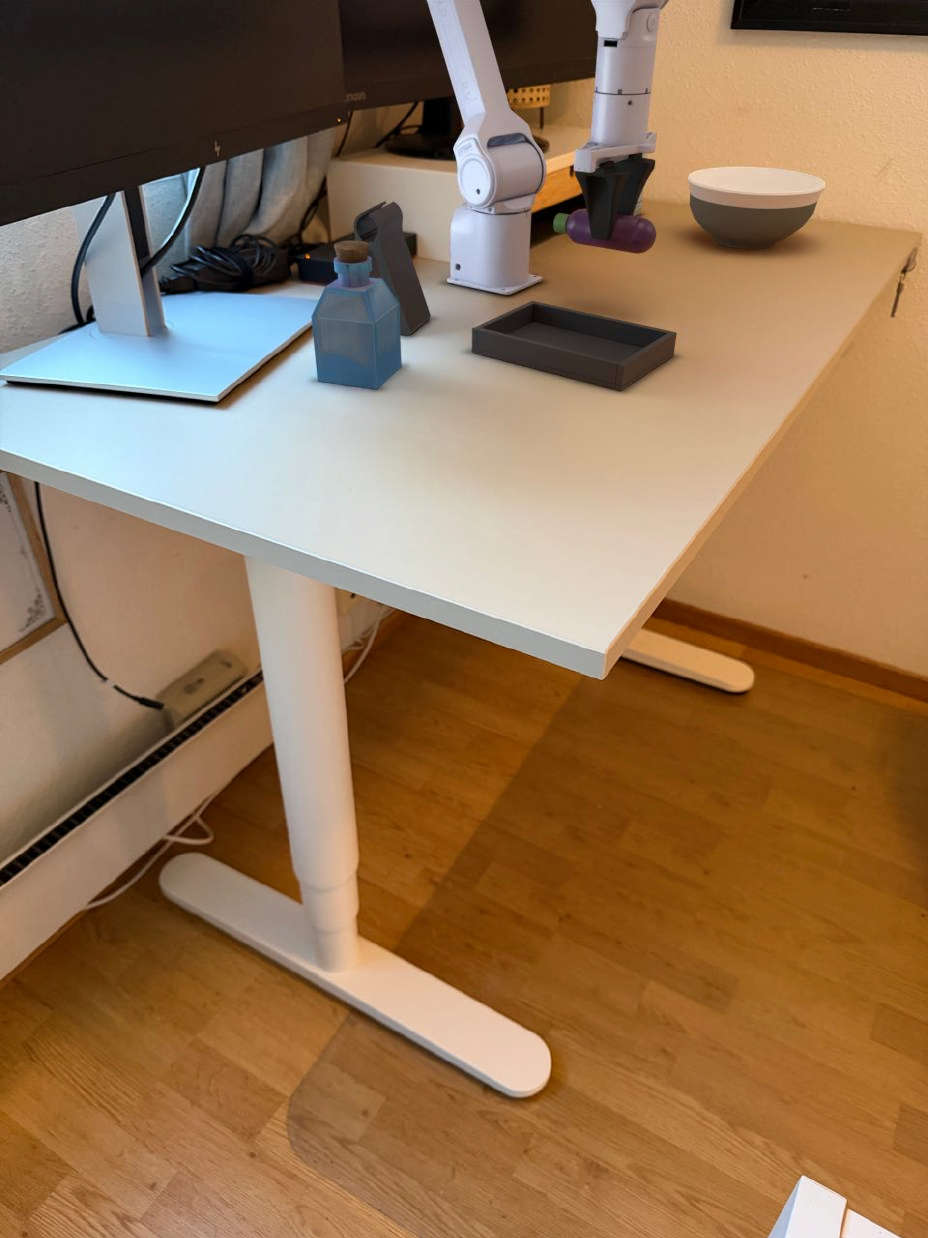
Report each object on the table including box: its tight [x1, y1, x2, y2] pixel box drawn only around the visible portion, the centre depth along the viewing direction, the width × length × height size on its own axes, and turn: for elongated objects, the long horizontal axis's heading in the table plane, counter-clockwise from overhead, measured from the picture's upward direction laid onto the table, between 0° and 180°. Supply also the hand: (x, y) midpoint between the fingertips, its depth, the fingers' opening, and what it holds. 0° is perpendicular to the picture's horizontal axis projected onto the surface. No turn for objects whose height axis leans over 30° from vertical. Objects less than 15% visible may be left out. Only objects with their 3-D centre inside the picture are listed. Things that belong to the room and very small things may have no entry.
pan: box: [471, 300, 678, 392], centre depth 91 cm, size 17×11×2 cm, turn 54°
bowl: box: [687, 166, 827, 250], centre depth 127 cm, size 19×19×8 cm
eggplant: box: [552, 208, 657, 255], centre depth 98 cm, size 12×4×4 cm, turn 55°
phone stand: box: [353, 200, 432, 336], centre depth 96 cm, size 9×6×12 cm, turn 70°
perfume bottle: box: [311, 240, 403, 390], centre depth 84 cm, size 6×6×12 cm
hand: (609, 234), depth 98 cm, fingers closed on eggplant, 3 cm apart
